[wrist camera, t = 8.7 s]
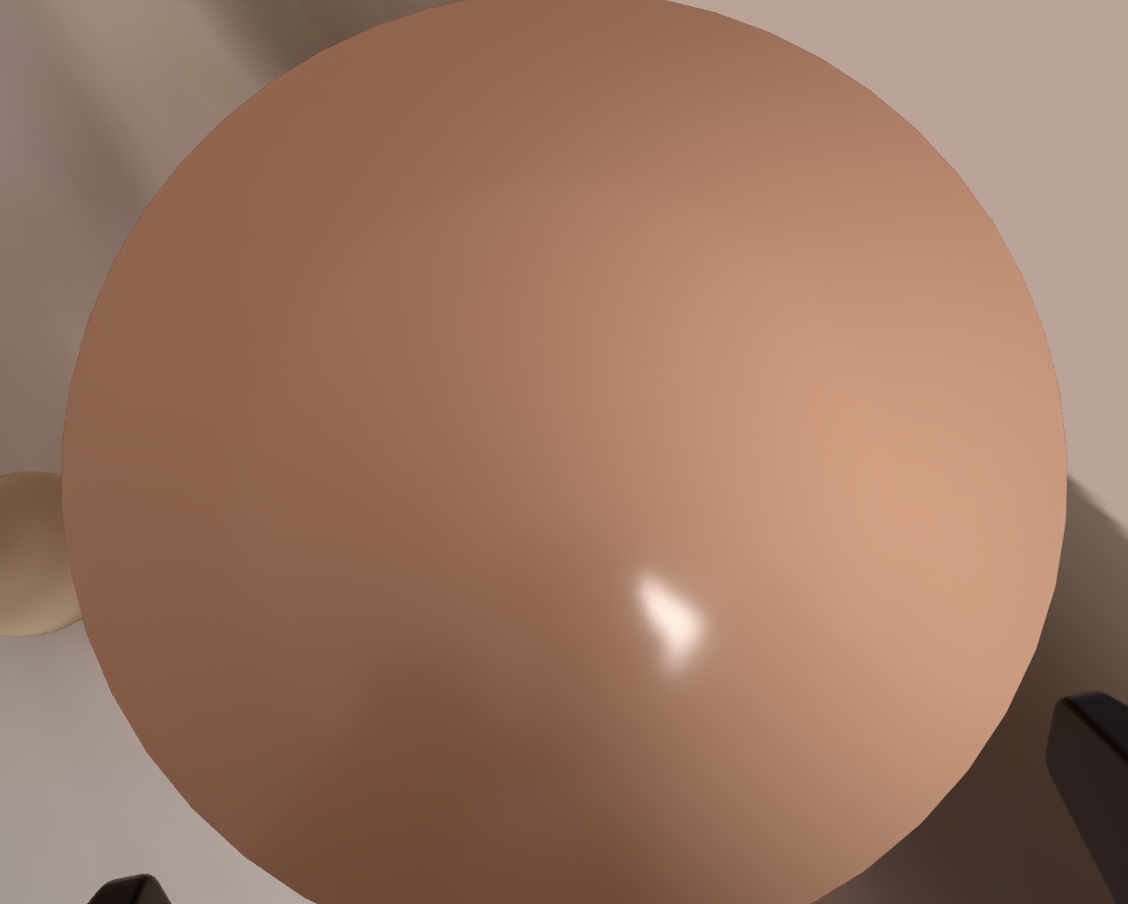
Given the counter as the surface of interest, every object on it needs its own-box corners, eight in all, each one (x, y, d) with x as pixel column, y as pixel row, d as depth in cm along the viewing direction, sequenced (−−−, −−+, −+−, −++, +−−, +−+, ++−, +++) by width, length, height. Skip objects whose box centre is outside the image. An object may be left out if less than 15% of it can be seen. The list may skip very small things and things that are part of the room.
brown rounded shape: (766, 724, 17) (1213, 849, 5) (426, 788, 17) (89, 1069, 5) (694, 401, 18) (914, -70, 7) (381, 455, 18) (40, 66, 6)
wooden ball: (172, 594, 18) (94, 580, 15) (27, 666, 18) (-80, 665, 15) (118, 463, 18) (33, 425, 16) (-22, 530, 18) (-135, 503, 15)
